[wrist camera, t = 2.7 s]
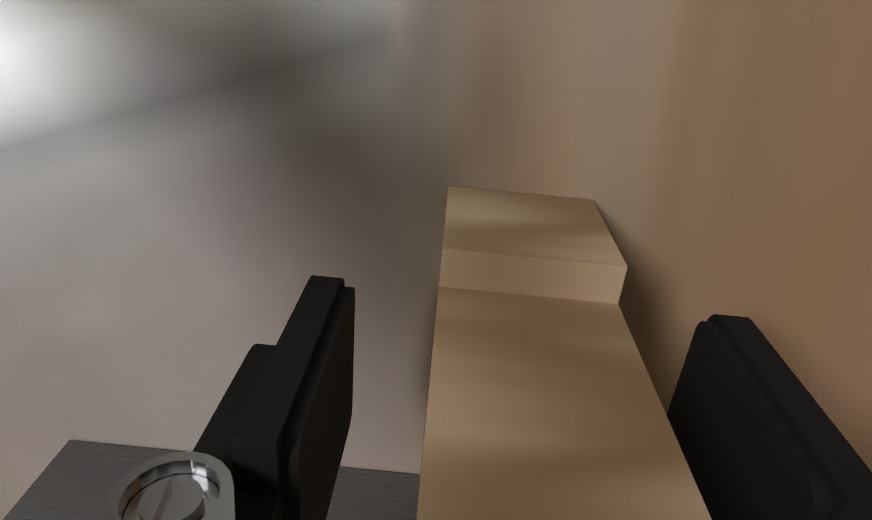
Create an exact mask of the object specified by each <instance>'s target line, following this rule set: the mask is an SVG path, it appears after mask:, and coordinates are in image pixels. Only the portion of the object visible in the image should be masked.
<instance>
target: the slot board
mask: <svg viewBox="0 0 872 520" xmlns="http://www.w3.org/2000/svg"><path fill="white" fill-rule="evenodd" d="M173 452H183V451H173V450H163V449H153V448H143V447H132V446H122V445H112V444H102V443H92V442H82V441H72V440H69V441H68V442H67V443H66V445H65V446H64V447H63V448H62V449H61V451H60V452H59V453H58V454H57V455H56V457H55V458H54V459H53V460H52V461H51V463H50V464H49V465H48V466H47V467H46V469H45V470H44V471H43V472H42V473H41V475H40V476H39V477H38V478H37V479H36V481H35V482H34V483H33V484H32V485H31V487H30V488H29V489H28V490H27V491H26V493H25V494H24V495H23V496H22V497H21V499H20V500H19V501H18V502H17V503H16V505H15V506H14V507H13V508H12V509H11V511H10V512H9V513H8V514H7V515H6V517H5V518H4V519H3V520H101V518H102V513H103V508H104V505H105V503H106V500H107V498H108V495H109V493H110V491H111V490H112V489H113V488H114V486H115V485H116V484H117V483H118V481H119V480H120V479H121V478H122V477H123V476H125V475H126V474H127V473H129V472H130V471H131V470H132V469H134V468H135V467H136V466H138V465H140V464H142V463H144V462H146V461H148V460H151V459H153V458H155V457H158V456H162V455H166V454H170V453H173ZM419 483H420V475H416V474H406V473H396V472H386V471H376V470H365V469H355V468H345V467H339V470H338V474H337V478H336V482H335V486H334V490H333V494H332V498H331V502H330V505H329V509H328V513H327V517H326V520H416V515H417V504H418V494H419Z"/></svg>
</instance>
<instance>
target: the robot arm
mask: <svg viewBox="0 0 872 520" xmlns="http://www.w3.org/2000/svg"><path fill="white" fill-rule="evenodd" d="M354 317H355V289H354V287H345V284H344V279H343V278H335V277H324V276H314V275H312V276H311V277H310V278H309V280H308V282H307V284H306V286H305V288H304V290H303V292H302V294H301V296H300V298H299V300H298V302H297V304H296V306H295V308H294V310H293V312H292V314H291V316H290V318H289V320H288V322H287V324H286V326H285V328H284V330H283V332H282V334H281V336H280V338H279V340H278V342H277V344H276V346H275V345H265V344H255V345H253V346H252V348H251V349H250V350H249V352H248V354H247V355H246V357H245V359H244V361H243V363H242V364H241V366H240V368H239V370H238V371H237V373H236V375H235V377H234V379H233V380H232V382H231V384H230V386H229V387H228V389H227V391H226V393H225V395H224V396H223V398H222V400H221V402H220V404H219V405H218V407H217V409H216V411H215V412H214V414H213V416H212V418H211V420H210V421H209V423H208V425H207V427H206V428H205V430H204V432H203V434H202V436H201V437H200V439H199V441H198V443H197V444H196V446H195V448H194V450H193V451H189V452H173V453H170V454H166V455H162V456H158V457H155V458H153V459H151V460H148V461H146V462H144V463H142V464H140V465H138V466H136V467H135V468H134V469H132V470H131V471H130V472H129V473H127V474H126V475H125V476H123V477H122V478H121V479H120V480H119V481H118V483H117V484H116V485H115V486H114V488H113V489H112V490H111V491H110V493H109V495H108V498H107V500H106V503H105V505H104V508H103V513H102V518H101V520H326V517H327V513H328V509H329V505H330V502H331V498H332V494H333V490H334V486H335V482H336V478H337V474H338V470H339V466H340V462H341V458H342V454H343V450H344V446H345V443H346V439H347V435H348V431H349V427H350V421H351V415H352V396H353V357H354ZM667 418H668V420H669V422H670V425H671V427H672V429H673V432H674V434H675V436H676V438H677V441H678V443H679V445H680V448H681V450H682V452H683V455H684V457H685V459H686V461H687V464H688V466H689V468H690V471H691V473H692V475H693V478H694V480H695V482H696V484H697V487H698V489H699V491H700V494H701V496H702V498H703V501H704V503H705V505H706V507H707V510H708V512H709V514H710V517H711V519H712V520H872V472H871V470H870V469H869V468H868V467H867V465H866V464H865V463H864V462H863V460H862V459H861V458H860V457H859V455H858V454H857V453H856V452H855V450H854V449H853V448H852V446H851V445H850V444H849V443H848V441H847V440H846V439H845V438H844V436H843V435H842V434H841V433H840V431H839V430H838V429H837V428H836V426H835V425H834V424H833V422H832V421H831V420H830V419H829V417H828V416H827V415H826V414H825V412H824V411H823V410H822V409H821V407H820V406H819V405H818V403H817V402H816V401H815V400H814V398H813V397H812V396H811V395H810V393H809V392H808V391H807V390H806V388H805V387H804V386H803V385H802V383H801V382H800V381H799V379H798V378H797V377H796V376H795V374H794V373H793V372H792V371H791V369H790V368H789V367H788V366H787V364H786V363H785V362H784V360H783V359H782V358H781V357H780V355H779V354H778V353H777V352H776V350H775V349H774V348H773V347H772V345H771V344H770V343H769V342H768V340H767V339H766V338H765V336H764V335H763V334H762V333H761V331H760V330H759V329H758V328H757V326H756V325H755V324H754V323H753V321H752V320H751V319H749V318H747V317H738V316H728V315H718V314H714V315H712V316H710V317H709V319H708V320H707V322H706V321H702V322H700V323H699V324H698V325H697V327H696V329H695V332H694V335H693V338H692V341H691V344H690V347H689V350H688V353H687V356H686V359H685V362H684V365H683V368H682V371H681V374H680V377H679V380H678V383H677V386H676V389H675V392H674V395H673V398H672V401H671V404H670V407H669V410H668V413H667Z"/></svg>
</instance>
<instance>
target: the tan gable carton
mask: <svg viewBox="0 0 872 520" xmlns="http://www.w3.org/2000/svg"><path fill="white" fill-rule="evenodd" d="M627 267H628V266H627V264H626V263H625V261H624V259H623V257H622V255H621V253H620V251H619V249H618V247H617V245H616V243H615V241H614V239H613V238H612V236H611V234H610V232H609V230H608V228H607V226H606V224H605V222H604V220H603V218H602V216H601V214H600V212H599V211H598V209H597V207H596V205H595V203H594V201H593V200H588V199H577V198H567V197H557V196H546V195H536V194H526V193H515V192H505V191H495V190H484V189H474V188H464V187H453V186H448V194H447V204H446V214H445V224H444V235H443V245H442V255H441V265H440V275H439V286H438V296H437V306H436V316H435V326H434V337H433V347H432V357H431V367H430V378H429V388H428V399H427V409H426V420H425V430H424V441H423V452H422V462H421V473H420V483H419V494H418V504H417V515H416V520H712V519H711V517H710V514H709V512H708V510H707V507H706V505H705V503H704V501H703V498H702V496H701V494H700V491H699V489H698V487H697V484H696V482H695V480H694V478H693V475H692V473H691V471H690V468H689V466H688V464H687V461H686V459H685V457H684V455H683V452H682V450H681V448H680V445H679V443H678V441H677V438H676V436H675V434H674V432H673V429H672V427H671V425H670V422H669V420H668V418H667V415H666V413H665V411H664V409H663V406H662V404H661V402H660V399H659V397H658V395H657V392H656V390H655V388H654V386H653V383H652V381H651V379H650V376H649V374H648V372H647V369H646V367H645V365H644V362H643V360H642V358H641V356H640V353H639V351H638V349H637V346H636V344H635V342H634V339H633V337H632V335H631V333H630V330H629V328H628V326H627V323H626V321H625V319H624V316H623V314H622V312H621V310H620V307H619V305H618V302H619V298H620V294H621V291H622V287H623V283H624V279H625V275H626V271H627Z"/></svg>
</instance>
